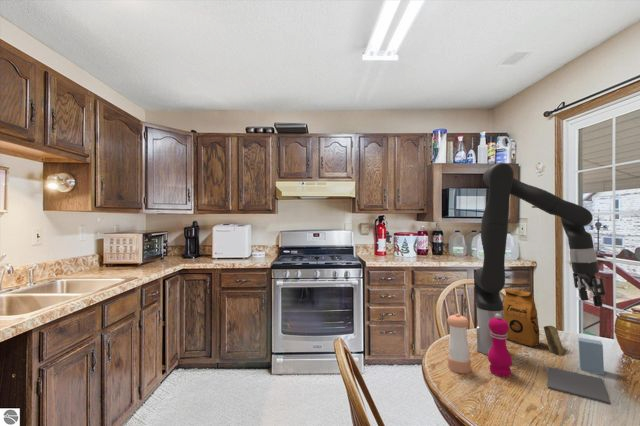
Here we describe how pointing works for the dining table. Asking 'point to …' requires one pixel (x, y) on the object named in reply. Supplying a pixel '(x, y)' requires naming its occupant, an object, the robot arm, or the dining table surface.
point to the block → (591, 355)
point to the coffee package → (521, 317)
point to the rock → (553, 340)
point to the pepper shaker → (458, 344)
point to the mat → (577, 384)
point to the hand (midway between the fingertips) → (591, 303)
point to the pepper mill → (499, 348)
